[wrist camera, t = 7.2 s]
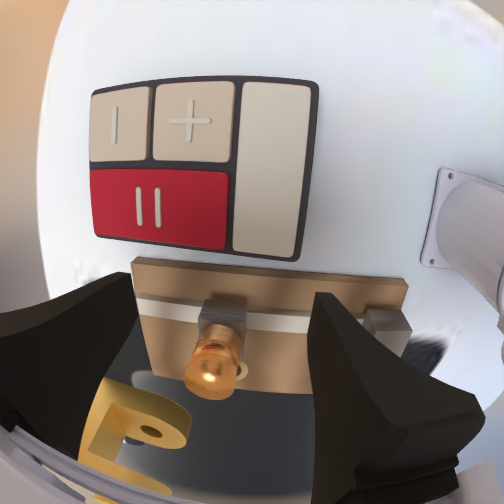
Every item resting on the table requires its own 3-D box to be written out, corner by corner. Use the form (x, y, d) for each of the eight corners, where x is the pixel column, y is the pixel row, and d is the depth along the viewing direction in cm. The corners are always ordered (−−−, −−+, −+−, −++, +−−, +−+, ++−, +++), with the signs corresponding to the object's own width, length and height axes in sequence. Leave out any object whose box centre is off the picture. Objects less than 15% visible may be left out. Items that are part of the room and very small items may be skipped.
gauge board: (403, 278, 20) (426, 310, 16) (362, 384, 26) (370, 419, 21) (137, 256, 22) (109, 284, 18) (157, 366, 27) (142, 399, 23)
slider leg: (248, 298, 20) (234, 368, 14) (243, 375, 24) (233, 440, 17) (207, 293, 21) (180, 360, 14) (211, 371, 24) (194, 434, 18)
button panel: (83, 89, 14) (321, 78, 12) (117, 94, 18) (315, 91, 16) (88, 241, 18) (299, 269, 17) (118, 223, 22) (298, 243, 20)
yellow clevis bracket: (191, 403, 29) (157, 520, 15) (192, 435, 33) (167, 529, 18) (58, 356, 30) (1, 436, 15) (75, 394, 33) (33, 466, 19)
